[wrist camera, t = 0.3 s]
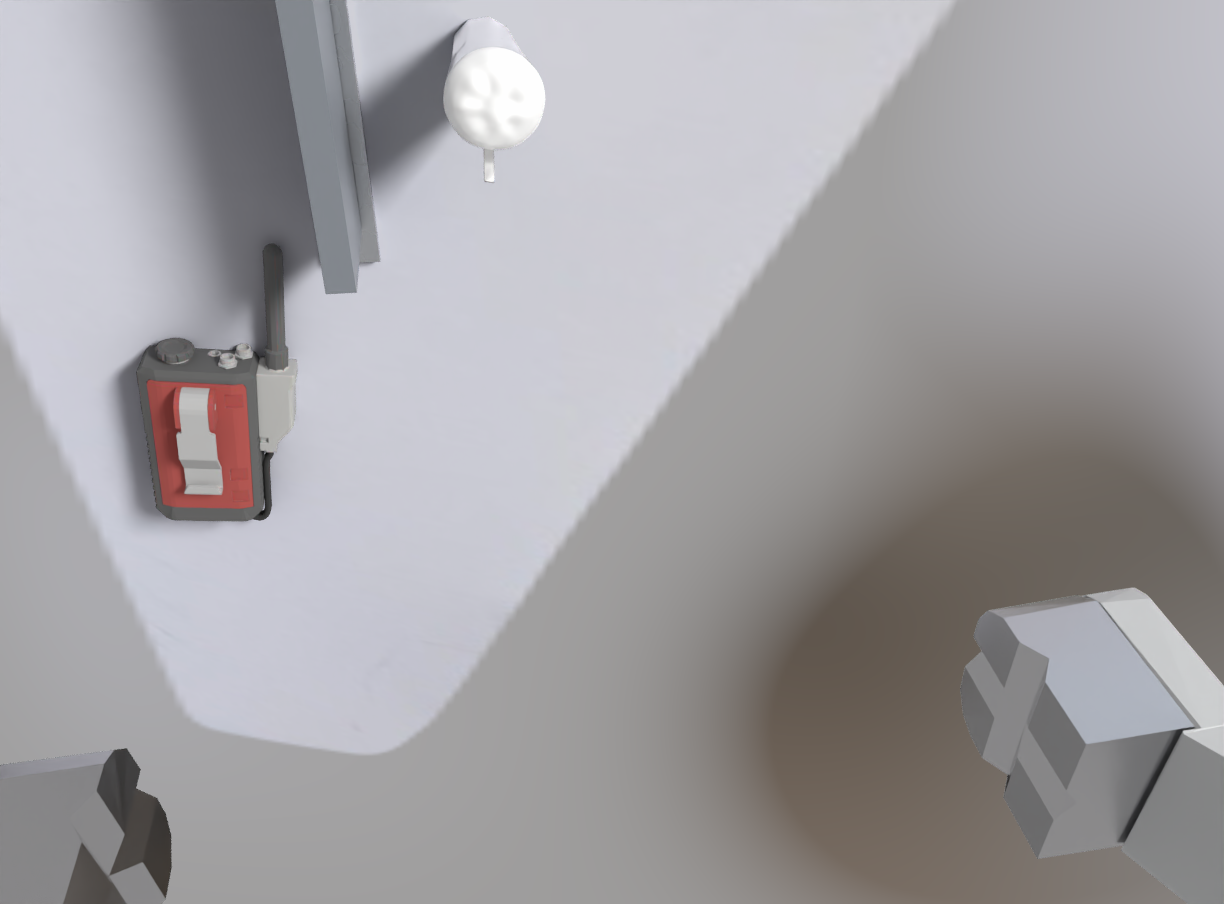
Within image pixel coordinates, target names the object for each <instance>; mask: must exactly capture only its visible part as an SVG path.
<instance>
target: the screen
mask: <svg viewBox="0 0 1224 904" xmlns="http://www.w3.org/2000/svg"><path fill="white" fill-rule="evenodd" d="M275 3H276V9H277V15H278V21H279V27H280V32H281V38H282V44H283V50H284V55H285V61H286V67H287V73H288V79H289V84H290V90H291V96H292V102H293V107H294V113H295V119H296V125H297V130H298V136H299V142H300V148H301V154H302V159H303V165H304V171H305V177H306V182H307V188H308V194H309V200H310V206H311V211H312V217H313V223H314V229H315V234H316V240H317V246H318V252H319V258H320V263H321V269H322V275H323V281H324V286H325V292H326V294H338V293H357V282H358V271H359V259H360V248H361V236H362V229H361V222H360V215H359V208H358V201H357V194H356V187H355V180H354V173H353V166H352V159H351V152H350V145H349V138H348V130H347V123H346V116H345V109H344V102H343V95H342V88H341V81H340V74H339V67H338V60H337V53H336V46H335V38H334V31H333V24H332V17H331V10H330V3H329V0H275Z"/></svg>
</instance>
